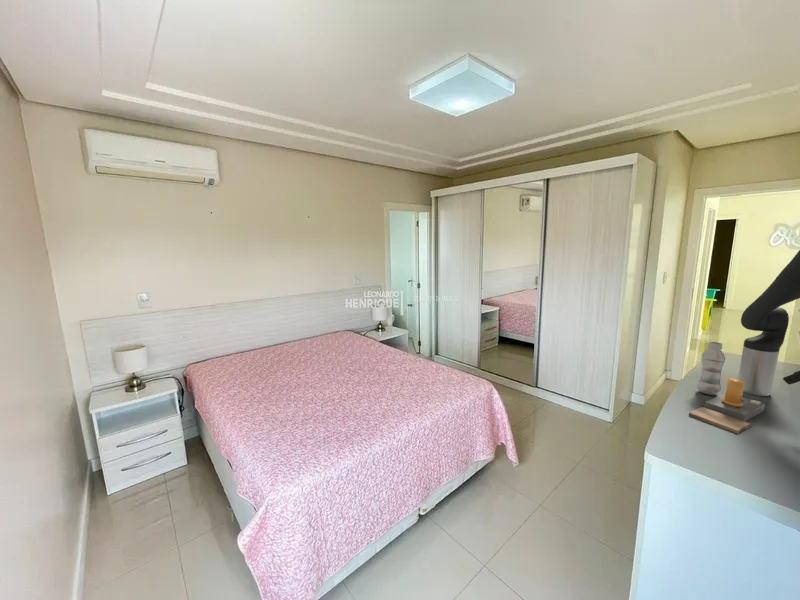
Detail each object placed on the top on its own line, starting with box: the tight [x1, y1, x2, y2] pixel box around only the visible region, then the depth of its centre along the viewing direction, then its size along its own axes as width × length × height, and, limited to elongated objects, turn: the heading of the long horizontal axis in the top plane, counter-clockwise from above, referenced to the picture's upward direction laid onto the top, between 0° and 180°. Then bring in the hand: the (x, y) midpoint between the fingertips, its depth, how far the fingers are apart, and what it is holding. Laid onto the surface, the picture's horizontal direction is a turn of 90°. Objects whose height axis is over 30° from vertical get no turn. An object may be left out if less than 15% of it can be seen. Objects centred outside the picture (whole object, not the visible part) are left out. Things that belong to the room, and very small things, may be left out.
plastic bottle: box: [696, 341, 726, 396], centre depth 124 cm, size 6×7×20 cm
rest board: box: [688, 406, 751, 434], centre depth 106 cm, size 9×12×1 cm
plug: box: [722, 377, 745, 408], centre depth 111 cm, size 5×5×11 cm
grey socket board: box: [703, 392, 766, 422], centre depth 113 cm, size 16×10×3 cm, turn 117°
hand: (791, 378), depth 99 cm, fingers open, 8 cm apart
